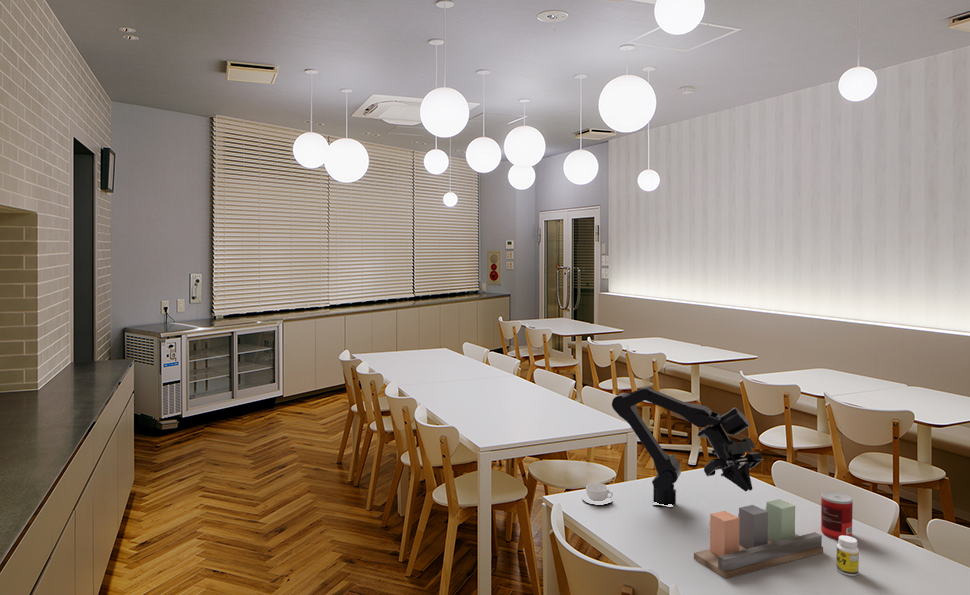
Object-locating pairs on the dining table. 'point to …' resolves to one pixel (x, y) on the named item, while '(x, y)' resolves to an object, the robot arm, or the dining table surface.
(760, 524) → the gray rectangular block
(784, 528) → the sage green block
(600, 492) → the teacup
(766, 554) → the wooden display stand
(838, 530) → the canned food
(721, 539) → the pink upright block
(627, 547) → the dining table surface
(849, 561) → the supplement bottle
